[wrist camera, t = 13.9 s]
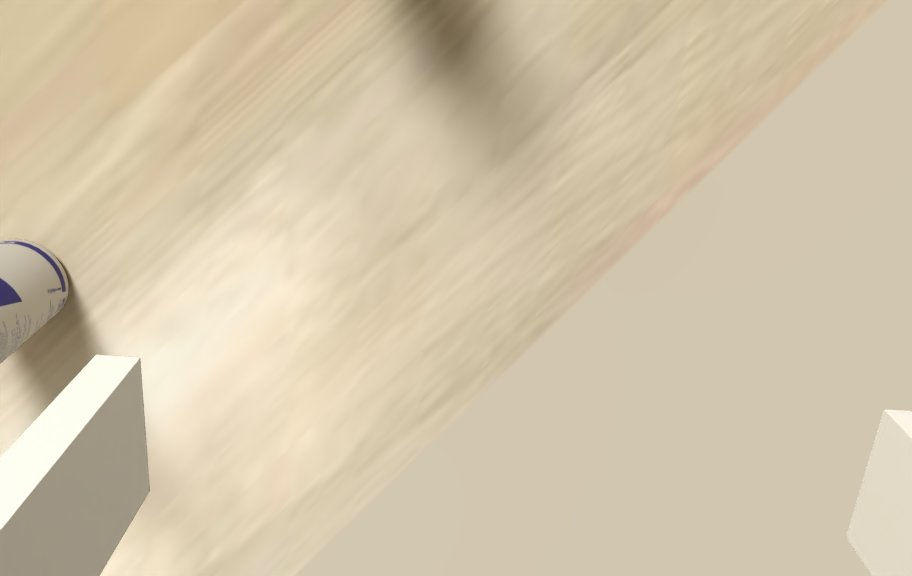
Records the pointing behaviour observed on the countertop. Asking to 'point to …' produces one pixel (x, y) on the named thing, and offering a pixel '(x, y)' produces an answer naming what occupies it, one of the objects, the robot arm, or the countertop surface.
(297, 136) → the countertop surface
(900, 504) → the robot arm
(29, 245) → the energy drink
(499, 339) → the countertop surface
